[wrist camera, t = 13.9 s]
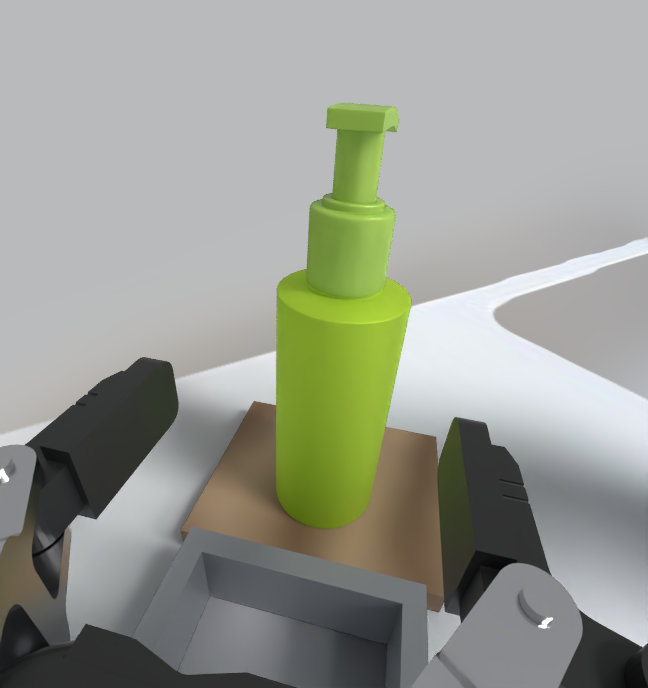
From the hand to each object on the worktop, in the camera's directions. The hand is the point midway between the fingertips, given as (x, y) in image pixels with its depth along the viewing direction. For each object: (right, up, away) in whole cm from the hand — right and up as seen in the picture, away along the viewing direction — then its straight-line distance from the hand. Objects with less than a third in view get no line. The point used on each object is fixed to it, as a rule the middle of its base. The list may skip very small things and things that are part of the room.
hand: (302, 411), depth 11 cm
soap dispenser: (+1, -7, +13) cm, 15 cm away
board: (+1, -8, +14) cm, 16 cm away
